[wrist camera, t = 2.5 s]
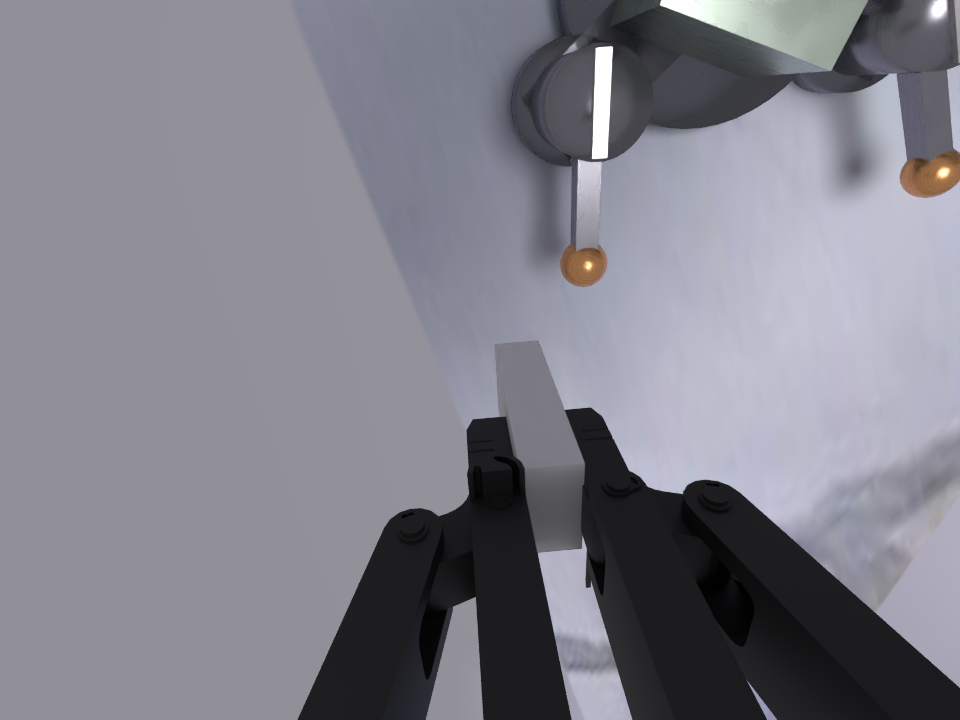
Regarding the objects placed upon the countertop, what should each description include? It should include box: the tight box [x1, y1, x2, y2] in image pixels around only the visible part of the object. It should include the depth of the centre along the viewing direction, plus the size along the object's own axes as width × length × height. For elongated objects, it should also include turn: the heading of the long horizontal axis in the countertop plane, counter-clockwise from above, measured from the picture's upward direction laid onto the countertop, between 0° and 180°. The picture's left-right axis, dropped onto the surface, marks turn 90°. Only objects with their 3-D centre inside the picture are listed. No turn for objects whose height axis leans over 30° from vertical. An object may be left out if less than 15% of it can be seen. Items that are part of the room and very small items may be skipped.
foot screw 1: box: [531, 42, 653, 287], centre depth 26 cm, size 12×5×6 cm, turn 4°
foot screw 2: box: [832, 0, 960, 198], centre depth 25 cm, size 12×5×6 cm, turn 29°
